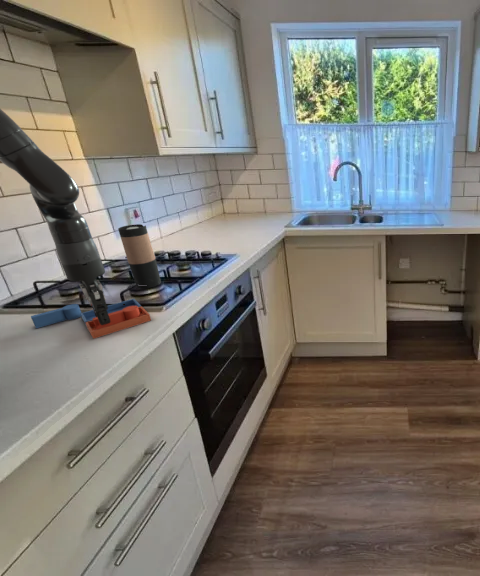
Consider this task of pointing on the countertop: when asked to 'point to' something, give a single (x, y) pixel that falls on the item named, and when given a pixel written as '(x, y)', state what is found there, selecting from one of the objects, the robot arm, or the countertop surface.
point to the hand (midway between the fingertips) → (103, 320)
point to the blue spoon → (56, 315)
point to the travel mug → (140, 255)
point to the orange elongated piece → (119, 316)
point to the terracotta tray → (118, 324)
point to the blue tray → (109, 309)
